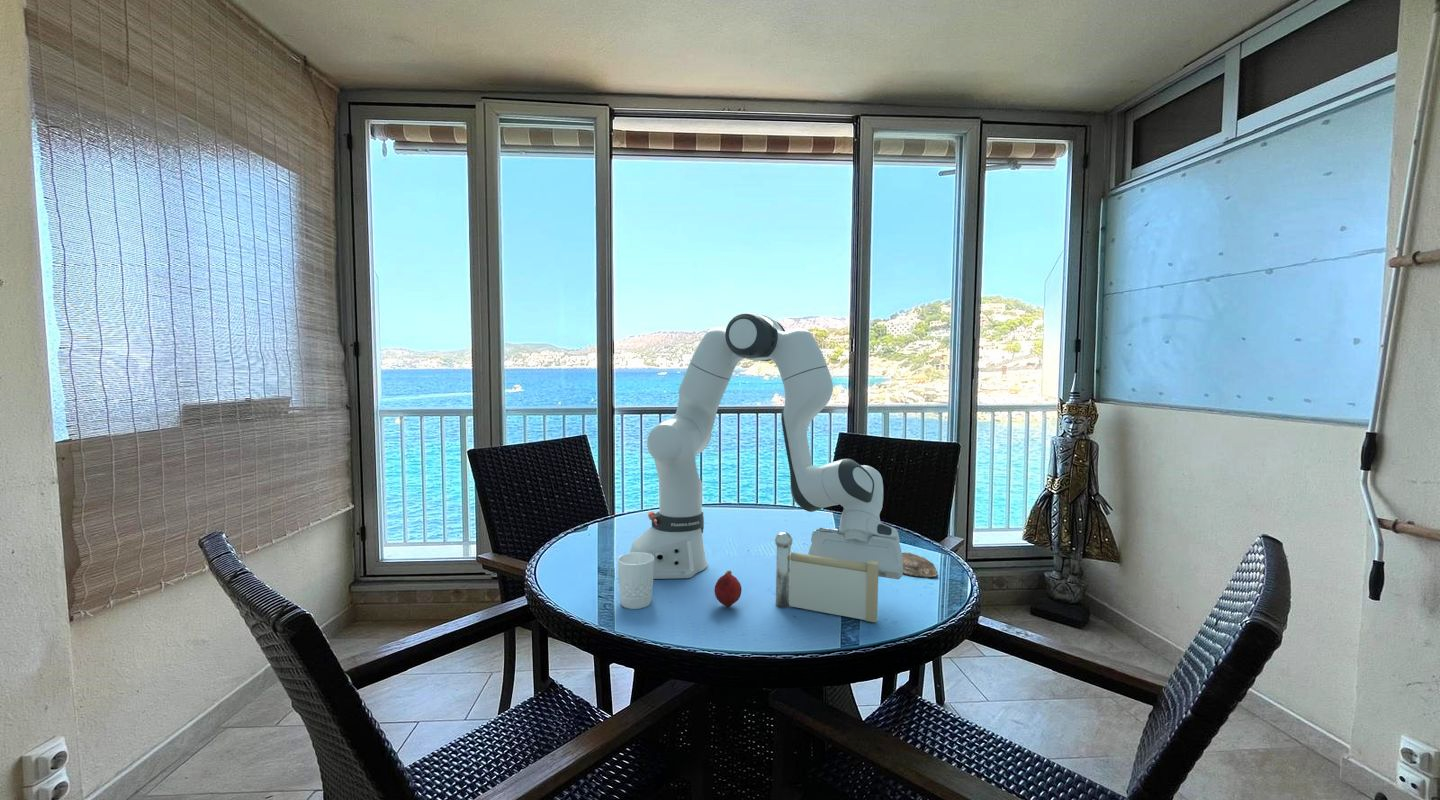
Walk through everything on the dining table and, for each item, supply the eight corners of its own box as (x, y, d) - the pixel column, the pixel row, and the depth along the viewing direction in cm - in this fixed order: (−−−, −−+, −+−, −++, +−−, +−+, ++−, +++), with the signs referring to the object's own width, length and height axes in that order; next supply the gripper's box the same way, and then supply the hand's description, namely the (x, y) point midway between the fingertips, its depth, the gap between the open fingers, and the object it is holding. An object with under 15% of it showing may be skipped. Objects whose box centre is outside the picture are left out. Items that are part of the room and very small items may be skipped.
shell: (890, 576, 139) (890, 562, 138) (888, 559, 151) (889, 546, 151) (938, 581, 135) (939, 567, 135) (933, 563, 148) (933, 550, 147)
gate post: (777, 609, 118) (779, 535, 117) (771, 602, 121) (772, 530, 120) (794, 607, 119) (795, 534, 118) (787, 600, 122) (788, 529, 121)
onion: (732, 615, 115) (732, 577, 114) (709, 608, 118) (709, 572, 117) (745, 605, 119) (746, 569, 119) (723, 599, 123) (723, 564, 122)
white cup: (647, 612, 116) (647, 566, 115) (612, 608, 117) (612, 563, 116) (658, 597, 123) (658, 553, 123) (625, 593, 125) (625, 551, 124)
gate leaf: (789, 606, 118) (790, 552, 117) (791, 602, 120) (792, 549, 119) (875, 622, 111) (877, 564, 110) (877, 618, 113) (878, 561, 112)
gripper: (811, 520, 126) (799, 576, 117) (904, 530, 117) (899, 592, 109) (815, 533, 130) (804, 589, 122) (906, 544, 122) (901, 604, 113)
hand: (850, 590), depth 115 cm, fingers closed on gate leaf
